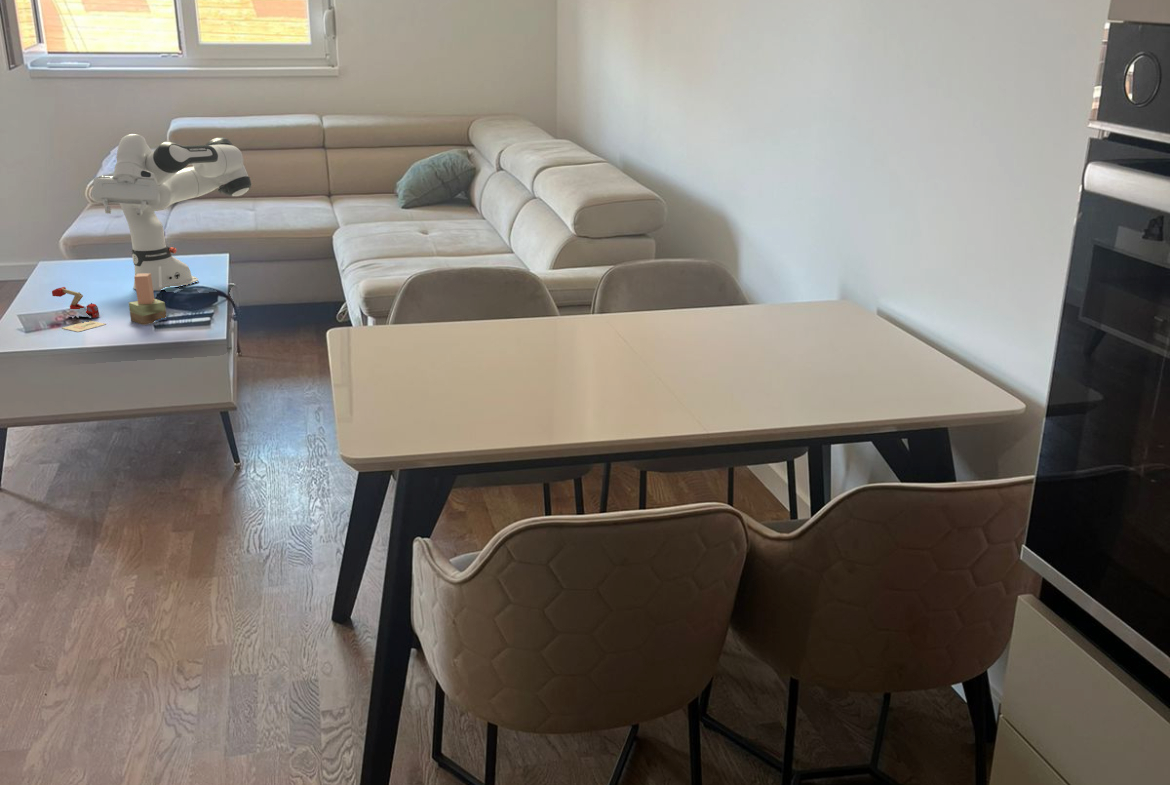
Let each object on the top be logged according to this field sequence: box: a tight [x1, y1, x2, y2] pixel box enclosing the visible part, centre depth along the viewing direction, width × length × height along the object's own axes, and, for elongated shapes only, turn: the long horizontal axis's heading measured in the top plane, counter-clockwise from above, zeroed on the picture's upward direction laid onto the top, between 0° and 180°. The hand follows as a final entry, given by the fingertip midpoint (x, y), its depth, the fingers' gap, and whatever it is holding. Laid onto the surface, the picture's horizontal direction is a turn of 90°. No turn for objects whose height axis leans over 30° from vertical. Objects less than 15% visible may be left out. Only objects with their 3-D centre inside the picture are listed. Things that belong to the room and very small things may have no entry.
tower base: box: [128, 298, 168, 326], centre depth 344 cm, size 8×8×6 cm
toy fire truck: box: [51, 286, 100, 319], centre depth 347 cm, size 3×14×10 cm, turn 84°
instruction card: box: [62, 320, 107, 333], centre depth 338 cm, size 10×8×1 cm
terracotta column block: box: [133, 273, 155, 304], centre depth 341 cm, size 4×4×9 cm
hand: (123, 213), depth 340 cm, fingers open, 8 cm apart
